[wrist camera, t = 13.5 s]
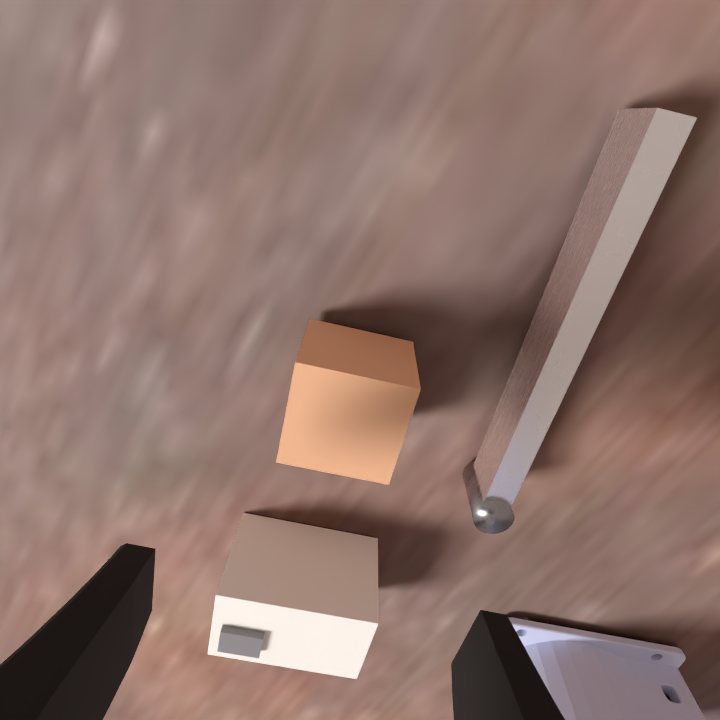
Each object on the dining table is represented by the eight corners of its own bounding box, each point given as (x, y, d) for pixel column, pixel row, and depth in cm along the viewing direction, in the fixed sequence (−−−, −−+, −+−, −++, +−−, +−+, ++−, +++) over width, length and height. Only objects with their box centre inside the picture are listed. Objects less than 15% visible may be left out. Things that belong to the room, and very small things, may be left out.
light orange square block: (412, 341, 16) (420, 389, 14) (386, 426, 18) (388, 484, 15) (309, 318, 16) (295, 362, 13) (292, 406, 18) (276, 462, 15)
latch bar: (491, 490, 19) (506, 536, 17) (458, 483, 19) (468, 529, 17) (655, 119, 13) (710, 119, 11) (608, 107, 13) (653, 105, 11)
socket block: (377, 538, 21) (378, 631, 17) (359, 591, 23) (356, 686, 19) (243, 512, 21) (213, 602, 17) (234, 568, 22) (205, 661, 18)
